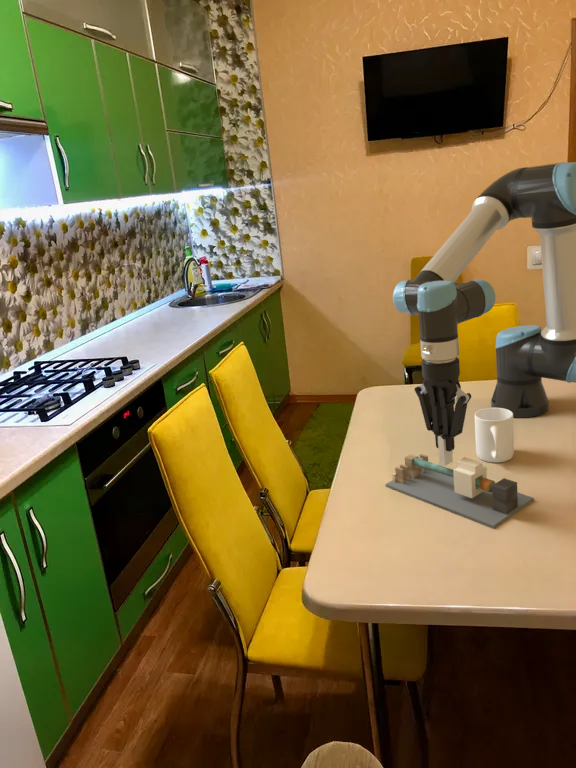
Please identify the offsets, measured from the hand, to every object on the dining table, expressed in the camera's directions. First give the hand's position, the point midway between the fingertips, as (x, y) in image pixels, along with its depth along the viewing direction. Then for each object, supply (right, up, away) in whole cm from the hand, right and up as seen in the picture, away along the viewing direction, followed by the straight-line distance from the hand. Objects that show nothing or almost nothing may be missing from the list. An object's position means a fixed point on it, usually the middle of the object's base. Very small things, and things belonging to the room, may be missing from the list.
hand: (446, 462), depth 133 cm
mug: (+15, -1, +13) cm, 20 cm away
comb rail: (+2, -7, 0) cm, 7 cm away
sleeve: (+4, -5, -3) cm, 8 cm away
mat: (+2, -7, 0) cm, 7 cm away
